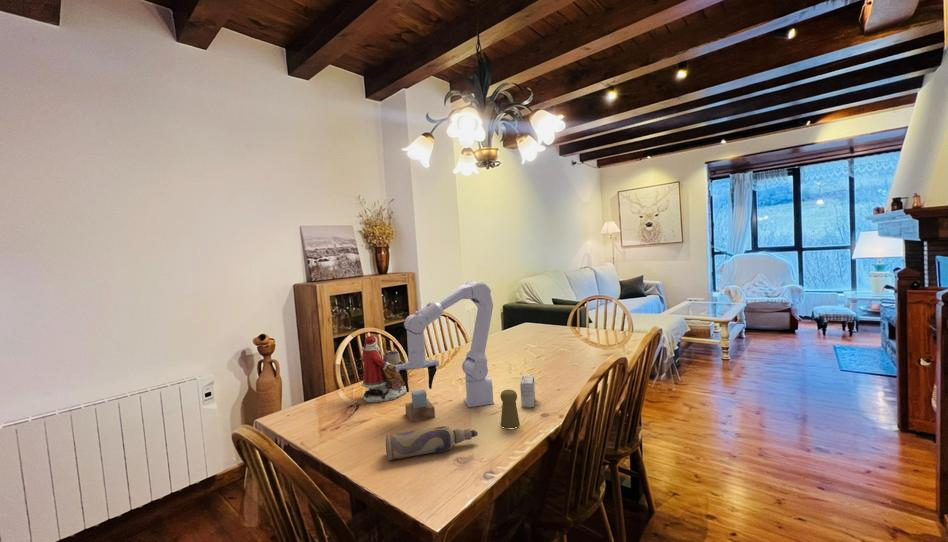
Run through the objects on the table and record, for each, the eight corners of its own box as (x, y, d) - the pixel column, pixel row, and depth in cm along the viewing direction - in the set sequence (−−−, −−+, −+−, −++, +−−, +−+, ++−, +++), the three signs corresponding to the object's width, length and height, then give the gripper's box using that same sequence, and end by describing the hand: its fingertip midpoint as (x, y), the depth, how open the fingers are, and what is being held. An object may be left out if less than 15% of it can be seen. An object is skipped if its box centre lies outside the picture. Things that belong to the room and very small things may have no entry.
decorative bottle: (387, 467, 103) (385, 442, 103) (386, 453, 111) (384, 429, 110) (481, 450, 109) (480, 426, 109) (475, 437, 117) (473, 415, 116)
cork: (521, 421, 125) (520, 388, 125) (517, 430, 120) (515, 395, 119) (503, 420, 127) (501, 386, 127) (498, 428, 122) (496, 393, 121)
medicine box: (534, 408, 136) (533, 383, 135) (521, 407, 137) (520, 383, 136) (535, 399, 143) (534, 376, 143) (523, 399, 144) (521, 375, 144)
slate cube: (425, 401, 137) (424, 389, 137) (427, 406, 133) (426, 393, 132) (412, 403, 136) (411, 391, 136) (413, 408, 131) (413, 395, 131)
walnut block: (428, 410, 140) (427, 399, 139) (435, 418, 132) (434, 406, 132) (405, 415, 136) (405, 403, 136) (411, 423, 129) (411, 411, 129)
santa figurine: (409, 388, 162) (404, 328, 161) (404, 401, 148) (398, 336, 147) (368, 391, 162) (363, 331, 160) (359, 405, 148) (353, 339, 146)
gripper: (395, 355, 127) (398, 396, 128) (439, 350, 131) (442, 390, 132) (394, 350, 134) (396, 389, 135) (436, 345, 138) (438, 383, 139)
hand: (419, 389), depth 134 cm, fingers open, 7 cm apart
